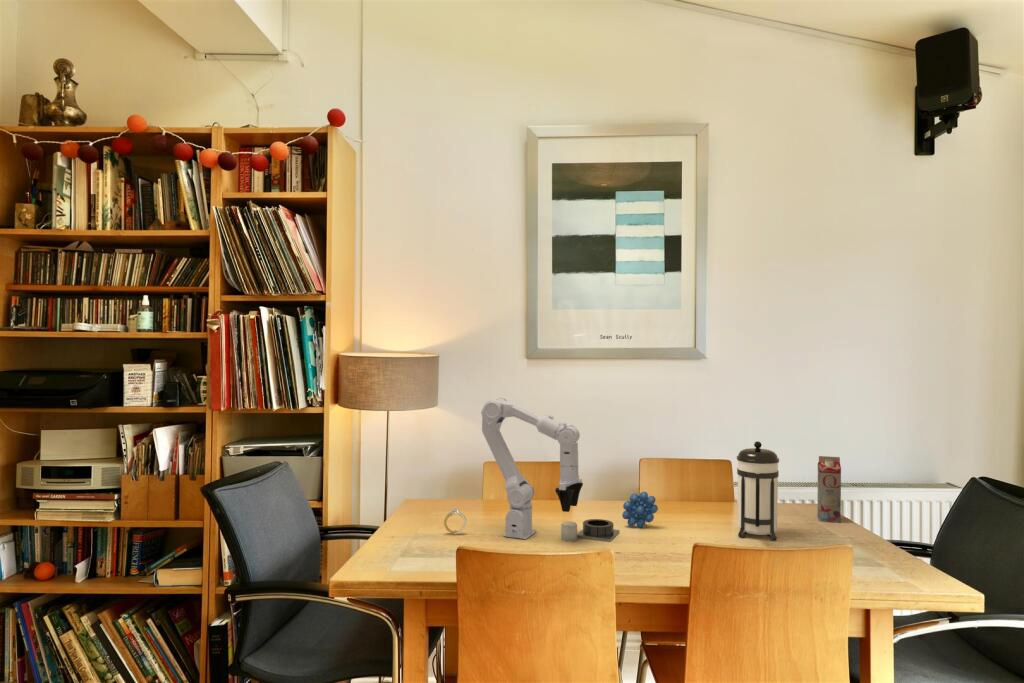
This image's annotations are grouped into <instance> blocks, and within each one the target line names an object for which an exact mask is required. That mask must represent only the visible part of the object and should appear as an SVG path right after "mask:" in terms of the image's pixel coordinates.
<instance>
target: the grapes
mask: <svg viewBox="0 0 1024 683" xmlns="http://www.w3.org/2000/svg"><path fill="white" fill-rule="evenodd" d="M656 501H657V499H656V497H655V496H654V495H649V494H648V492H647V491H641V492H640V493H639V494H638V493H632V494H631V495H630V497H629V500H626V501H624V502H623V503H622V504H623V506H622V507H623V509H624V511H623V512H622V514H621V517H622V519H624V520H627V525H628V526H629V527H633V526H636V527H638V528H643V527H645V526H646V523H651V522H653V521H654V519H655V516H654V514H656V513H657V512H658V510H659V507H658V505H657V504H655V503H656Z"/></svg>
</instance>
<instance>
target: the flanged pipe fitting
mask: <svg viewBox="0 0 1024 683" xmlns="http://www.w3.org/2000/svg"><path fill="white" fill-rule="evenodd" d="M619 533H620V529H616V528H615V529H614V523H613V522H612V520H607V519H604V518H603V519H601V518H592V519H586V520H584V521H582V529H581V530H580V531H579V532H577V539H587V540H594V541H600V542H601V541H602V542H608V543H609V542H612V540H613V539H614V538H616V536H618V535H619Z"/></svg>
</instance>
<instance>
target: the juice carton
mask: <svg viewBox="0 0 1024 683" xmlns="http://www.w3.org/2000/svg"><path fill="white" fill-rule="evenodd" d="M841 493H842V467H841V458H840V456H828V455H827V456H824V455H818V462H817V503H816V504H817V506H816V507H817V510H816V511H817V513H816V514H817V516H816V517H817V518H818V519H817V520H818V522H824V523H836V524H837V523H838V524H841V523H842V521H841V518H842V514H841V513H842V512H841V510H842V507H841V506H842V501H841V500H842V496H841V495H842V494H841Z"/></svg>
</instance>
